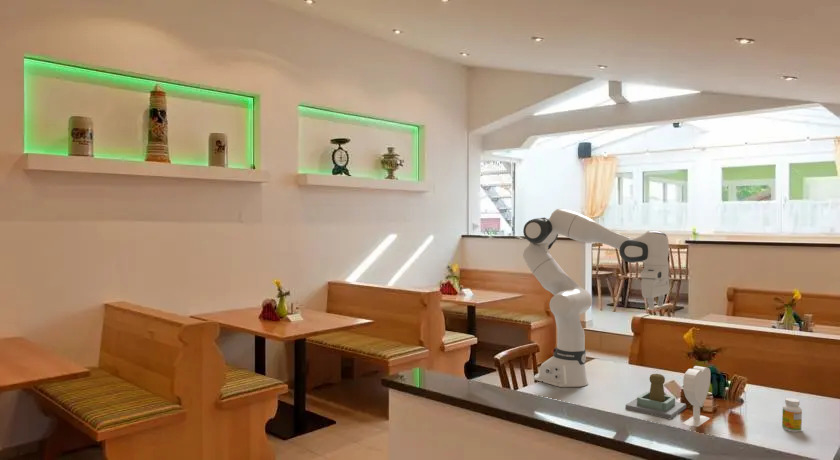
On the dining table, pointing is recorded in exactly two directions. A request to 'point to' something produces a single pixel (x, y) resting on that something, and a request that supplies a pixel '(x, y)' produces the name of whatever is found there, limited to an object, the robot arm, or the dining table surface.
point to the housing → (656, 406)
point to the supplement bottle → (792, 415)
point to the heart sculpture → (696, 392)
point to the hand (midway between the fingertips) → (655, 307)
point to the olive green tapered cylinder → (657, 388)
